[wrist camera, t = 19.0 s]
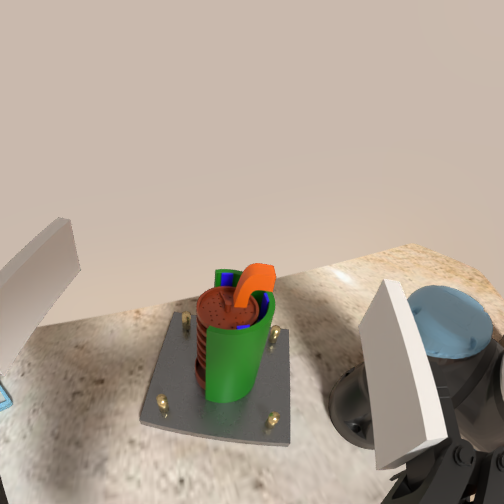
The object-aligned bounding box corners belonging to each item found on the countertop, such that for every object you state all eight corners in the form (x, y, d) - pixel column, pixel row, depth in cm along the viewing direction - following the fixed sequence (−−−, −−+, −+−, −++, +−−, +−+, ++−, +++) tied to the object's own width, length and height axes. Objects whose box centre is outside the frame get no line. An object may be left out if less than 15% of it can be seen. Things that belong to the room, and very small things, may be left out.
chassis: (286, 335, 50) (292, 318, 48) (287, 446, 33) (296, 436, 30) (174, 317, 50) (173, 299, 47) (141, 424, 32) (135, 411, 30)
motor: (190, 348, 43) (192, 239, 32) (246, 343, 46) (268, 238, 35) (200, 405, 35) (203, 306, 24) (263, 397, 38) (301, 298, 27)
